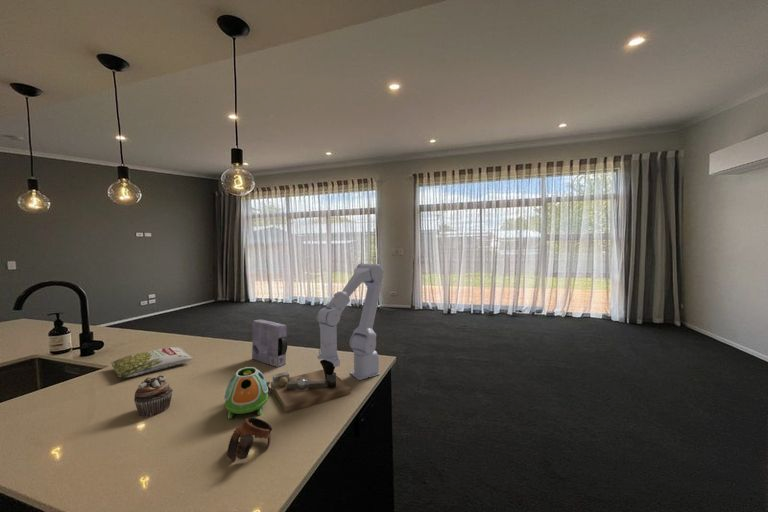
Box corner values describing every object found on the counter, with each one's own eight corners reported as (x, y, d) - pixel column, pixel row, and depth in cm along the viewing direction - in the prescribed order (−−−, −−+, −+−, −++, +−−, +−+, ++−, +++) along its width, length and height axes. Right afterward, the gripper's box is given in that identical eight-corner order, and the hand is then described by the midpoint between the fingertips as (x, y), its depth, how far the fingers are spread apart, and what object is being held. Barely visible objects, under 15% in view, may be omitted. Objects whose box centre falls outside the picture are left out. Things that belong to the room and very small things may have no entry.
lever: (336, 383, 106) (336, 371, 106) (335, 388, 102) (335, 376, 102) (288, 385, 105) (288, 373, 105) (286, 390, 101) (285, 378, 101)
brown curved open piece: (228, 444, 78) (245, 411, 80) (263, 457, 79) (278, 424, 81) (214, 464, 66) (234, 425, 69) (254, 479, 67) (272, 440, 70)
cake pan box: (288, 364, 130) (287, 324, 129) (279, 368, 126) (278, 326, 125) (261, 356, 140) (260, 318, 140) (251, 359, 136) (250, 321, 135)
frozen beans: (109, 355, 126) (179, 340, 145) (110, 369, 126) (179, 352, 145) (118, 370, 112) (194, 351, 131) (119, 385, 113) (194, 364, 132)
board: (328, 373, 120) (328, 360, 120) (350, 393, 103) (350, 378, 103) (271, 387, 108) (270, 373, 108) (285, 412, 91) (285, 396, 91)
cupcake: (130, 421, 88) (129, 388, 87) (139, 406, 96) (138, 375, 96) (170, 413, 92) (169, 381, 92) (175, 399, 101) (174, 369, 100)
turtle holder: (267, 388, 107) (266, 355, 106) (269, 415, 90) (268, 376, 90) (228, 395, 102) (227, 360, 101) (222, 425, 85) (221, 384, 85)
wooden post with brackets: (275, 391, 104) (269, 381, 102) (252, 406, 100) (246, 396, 99) (274, 389, 105) (268, 379, 104) (251, 404, 101) (245, 393, 100)
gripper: (310, 338, 110) (311, 375, 110) (325, 350, 98) (326, 391, 98) (328, 335, 114) (329, 370, 114) (345, 346, 101) (345, 385, 102)
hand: (329, 380), depth 106 cm, fingers closed
